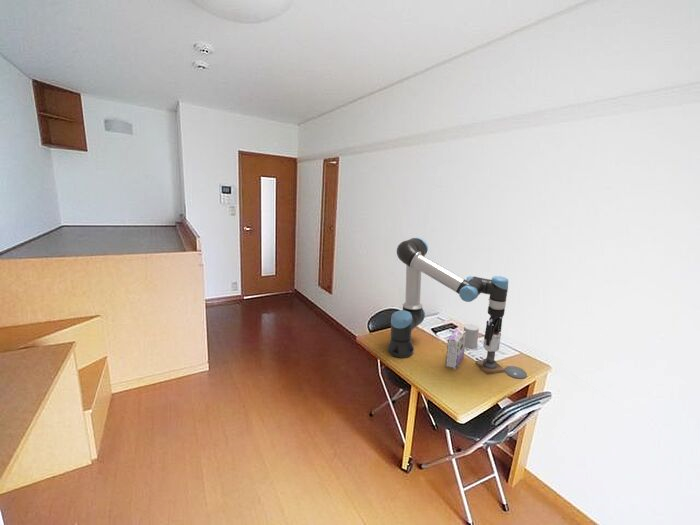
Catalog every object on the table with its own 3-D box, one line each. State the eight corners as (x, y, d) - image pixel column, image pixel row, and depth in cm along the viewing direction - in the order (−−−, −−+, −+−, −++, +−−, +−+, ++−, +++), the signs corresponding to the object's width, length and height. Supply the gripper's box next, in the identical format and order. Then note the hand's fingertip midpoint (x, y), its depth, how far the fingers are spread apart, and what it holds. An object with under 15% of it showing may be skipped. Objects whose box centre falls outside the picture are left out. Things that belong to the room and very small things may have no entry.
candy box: (453, 354, 175) (455, 328, 171) (463, 357, 171) (466, 331, 167) (445, 366, 164) (447, 338, 160) (456, 369, 161) (458, 341, 156)
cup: (470, 340, 189) (472, 323, 186) (479, 347, 182) (481, 328, 179) (459, 343, 187) (461, 325, 184) (468, 349, 180) (470, 331, 176)
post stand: (475, 363, 166) (477, 346, 163) (491, 361, 168) (493, 344, 165) (486, 374, 156) (489, 356, 154) (504, 371, 158) (506, 353, 156)
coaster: (500, 368, 161) (500, 367, 161) (516, 366, 163) (517, 364, 163) (513, 380, 152) (513, 378, 152) (531, 377, 154) (531, 376, 153)
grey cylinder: (487, 342, 164) (489, 327, 162) (501, 348, 159) (503, 332, 157) (480, 347, 160) (482, 331, 157) (494, 353, 154) (497, 337, 152)
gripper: (497, 299, 162) (492, 338, 168) (479, 310, 150) (474, 351, 156) (512, 304, 157) (506, 344, 163) (495, 315, 144) (489, 358, 150)
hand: (490, 347), depth 159 cm, fingers closed on grey cylinder, 7 cm apart
